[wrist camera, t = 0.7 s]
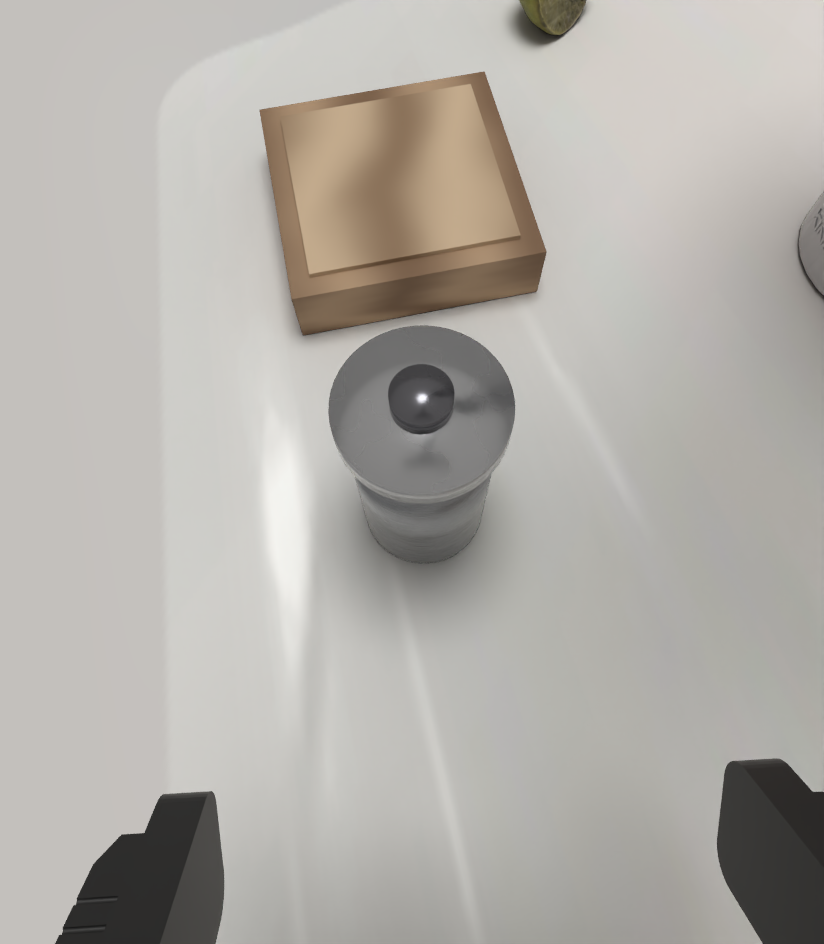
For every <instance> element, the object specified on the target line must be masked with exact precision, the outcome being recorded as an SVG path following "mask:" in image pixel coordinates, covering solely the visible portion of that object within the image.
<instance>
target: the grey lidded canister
mask: <svg viewBox="0 0 824 944" xmlns="http://www.w3.org/2000/svg"><path fill="white" fill-rule="evenodd" d="M514 417H515V401H514V394H513V390H512V386H511V383H510V381H509V378H508V376H507V374H506V372H505V370H504V369H503V367H502V366H501V364H500V363H499V362H498V360H497V359H496V358H495V357H494V356H493V355H492V354H491V352H490V351H489V350H487V349H486V348H485V347H484V346H482V345H481V344H480V343H478V342H477V341H475V340H473V339H472V338H470V337H468V336H466V335H464V334H462V333H459V332H456V331H453V330H450V329H446V328H441V327H435V326H410V327H403V328H399V329H395V330H391V331H388V332H386V333H383V334H381V335H379V336H377V337H375V338H373V339H371V340H369V341H368V342H366V343H365V344H363V345H362V346H361V347H359V348H358V349H357V350H356V351H355V352H354V353H353V354H352V355H351V356H350V357H349V358H348V359H347V360H346V362H345V363H344V364H343V366H342V367H341V369H340V370H339V372H338V374H337V376H336V378H335V380H334V383H333V386H332V389H331V393H330V398H329V422H330V427H331V431H332V434H333V437H334V441H335V444H336V447H337V449H338V452H339V454H340V457H341V458H342V460H343V462H344V463H345V465H346V467H347V468H348V469H349V470H350V472H351V473H352V474H353V475H354V476H355V480H356V483H357V487H358V490H359V494H360V497H361V501H362V504H363V508H364V511H365V515H366V518H367V522H368V525H369V528H370V530H371V532H372V534H373V536H374V537H375V539H376V540H377V541H378V543H379V544H380V545H381V546H382V547H383V548H384V549H385V550H387V551H388V552H389V553H391V554H392V555H394V556H396V557H398V558H400V559H403V560H405V561H409V562H414V563H433V562H438V561H442V560H445V559H447V558H450V557H452V556H453V555H455V554H457V553H458V552H459V551H461V550H462V549H463V548H464V547H465V546H466V545H467V544H468V543H469V542H470V541H471V539H472V538H473V537H474V535H475V533H476V531H477V529H478V526H479V524H480V519H481V515H482V511H483V507H484V503H485V498H486V494H487V490H488V486H489V482H490V478H491V474H492V472H493V471H494V470H495V468H496V467H497V466H498V465H499V463H500V461H501V459H502V458H503V456H504V454H505V451H506V449H507V446H508V443H509V439H510V436H511V432H512V428H513V423H514Z"/></svg>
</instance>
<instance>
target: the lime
mask: <svg viewBox="0 0 824 944" xmlns="http://www.w3.org/2000/svg"><path fill="white" fill-rule="evenodd" d="M519 1H520V3H521V5H522V7H523V8H524V11H525V13H526V14H527V16H528V18H529V19H530V20H531V22H533V23H534V24H535V25H536V26H537V27H539V28H540V29H542V30H543V31H545V32H546V33H548V34H553V35H561V34H563V33H565V32H566V31H567V30H568V29H569V28H571V27H572V26H573V24H574V23H575V22H576V20H577V19H578V17H579V16H580V14H581V12H582V10H583V8H584V6H585V3H586V0H519Z"/></svg>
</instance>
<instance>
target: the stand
mask: <svg viewBox="0 0 824 944" xmlns="http://www.w3.org/2000/svg"><path fill="white" fill-rule="evenodd" d="M260 116H261V121H262V127H263V133H264V139H265V145H266V151H267V157H268V163H269V169H270V175H271V180H272V186H273V192H274V198H275V204H276V210H277V216H278V222H279V228H280V234H281V239H282V245H283V251H284V257H285V263H286V269H287V275H288V281H289V287H290V292H291V298H292V302H293V305H294V308H295V312H296V315H297V318H298V321H299V324H300V328H301V331H302V334H303V335H308V334H313V333H318V332H324V331H329V330H334V329H340V328H345V327H350V326H356V325H361V324H366V323H371V322H377V321H382V320H387V319H393V318H398V317H403V316H409V315H414V314H419V313H424V312H430V311H435V310H440V309H446V308H451V307H456V306H462V305H467V304H472V303H477V302H483V301H488V300H493V299H499V298H504V297H509V296H515V295H520V294H525V293H530V292H536V291H537V289H538V285H539V281H540V277H541V273H542V268H543V264H544V260H545V256H546V249H545V246H544V243H543V240H542V237H541V235H540V232H539V229H538V226H537V223H536V220H535V217H534V214H533V211H532V208H531V205H530V203H529V200H528V197H527V194H526V191H525V188H524V185H523V182H522V179H521V176H520V173H519V171H518V168H517V165H516V162H515V159H514V156H513V153H512V150H511V147H510V144H509V142H508V139H507V136H506V133H505V130H504V127H503V124H502V121H501V118H500V115H499V112H498V110H497V107H496V104H495V101H494V98H493V95H492V92H491V89H490V86H489V83H488V80H487V78H486V75H485V72H479V73H473V74H467V75H461V76H455V77H450V78H444V79H438V80H432V81H426V82H420V83H414V84H408V85H403V86H397V87H391V88H385V89H379V90H373V91H367V92H362V93H356V94H350V95H344V96H338V97H332V98H326V99H320V100H315V101H309V102H303V103H297V104H291V105H285V106H279V107H274V108H268V109H262V110H260Z"/></svg>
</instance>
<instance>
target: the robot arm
mask: <svg viewBox="0 0 824 944" xmlns="http://www.w3.org/2000/svg"><path fill="white" fill-rule="evenodd" d="M799 249H800V257H801V260H802V263H803V265H804V268H805V271H806V273H807V275H808V276H809V278H810V279H811V281H812V282H813V284H814V285H815V287H816V288H817V289H818V290H819V291H820V292H821V293H822V294H823V295H824V192H823V193H822V195H821V196H820V197H819V199H818V200H817V201H816V203H815V204H814V206H813V207H812V208H811V210H810V211H809V212H808V214H807V216H806V218H805V220H804V222H803V224H802V226H801V230H800V236H799ZM717 851H718V858H719V863H720V867H721V870H722V873H723V876H724V878H725V881H726V883H727V885H728V887H729V889H730V890H731V892H732V894H733V895H734V897H735V899H736V900H737V902H738V903H739V905H740V907H741V908H742V910H743V912H744V913H745V915H746V917H747V918H748V920H749V921H750V923H751V925H752V926H753V928H754V930H755V931H756V933H757V935H758V936H759V938H760V940H761V941H762V943H763V944H824V792H812V791H811V790H810V788H809V787H808V786H807V785H806V784H805V783H804V782H803V781H802V780H801V778H800V777H799V776H798V775H797V774H796V773H795V772H794V771H793V770H792V768H791V767H790V766H789V765H788V764H787V763H786V762H784V761H783V760H781V759H761V760H745V761H732V762H730V763H729V764H728V765H727V767H726V770H725V774H724V783H723V792H722V801H721V810H720V819H719V828H718V836H717ZM223 899H224V869H223V860H222V851H221V842H220V833H219V823H218V814H217V805H216V799H215V795H214V793H213V792H212V791H209V792H193V793H177V794H163V795H162V796H161V797H160V798H159V800H158V802H157V804H156V806H155V809H154V811H153V814H152V816H151V819H150V821H149V823H148V826H147V828H146V831H145V833H142V834H126V835H121V836H120V837H119V838H118V839H117V840H116V841H115V842H114V843H113V844H112V845H111V846H110V847H109V848H108V850H107V851H106V852H105V853H104V854H103V855H102V856H101V857H100V858H99V859H98V860H97V861H96V862H95V863H94V864H93V866H92V868H91V870H90V872H89V875H88V877H87V878H86V881H85V883H84V885H83V887H82V889H81V891H80V893H79V895H78V897H77V903H76V905H74V906H73V908H72V910H71V912H70V914H69V916H68V918H67V920H66V922H65V924H64V927H63V933H62V935H59V937H58V939H57V941H56V943H55V944H215V943H216V939H217V934H218V930H219V926H220V921H221V916H222V909H223Z"/></svg>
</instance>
